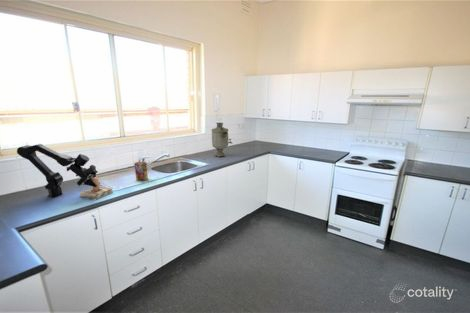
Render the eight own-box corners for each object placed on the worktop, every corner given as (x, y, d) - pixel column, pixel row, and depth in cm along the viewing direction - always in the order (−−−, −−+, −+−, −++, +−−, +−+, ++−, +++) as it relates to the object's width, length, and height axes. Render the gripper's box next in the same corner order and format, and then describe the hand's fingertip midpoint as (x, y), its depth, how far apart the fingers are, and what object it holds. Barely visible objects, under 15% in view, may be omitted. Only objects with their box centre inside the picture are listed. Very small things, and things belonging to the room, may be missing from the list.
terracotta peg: (96, 195, 162) (94, 179, 159) (92, 194, 163) (90, 178, 160) (101, 193, 165) (99, 177, 162) (97, 192, 167) (95, 176, 164)
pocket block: (95, 199, 155) (94, 195, 154) (80, 196, 160) (80, 192, 159) (112, 192, 168) (112, 188, 167) (98, 189, 173) (98, 185, 172)
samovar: (235, 159, 267) (236, 124, 257) (213, 159, 262) (212, 124, 252) (230, 153, 295) (231, 121, 286) (210, 153, 290) (209, 121, 280)
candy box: (147, 178, 198) (146, 161, 195) (147, 179, 194) (145, 162, 191) (136, 178, 196) (135, 161, 193) (135, 180, 192) (134, 162, 188)
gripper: (79, 166, 149) (99, 182, 153) (93, 159, 167) (111, 173, 171) (68, 178, 150) (88, 193, 154) (83, 169, 168) (101, 183, 172)
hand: (98, 185), depth 163 cm, fingers closed on terracotta peg, 4 cm apart
